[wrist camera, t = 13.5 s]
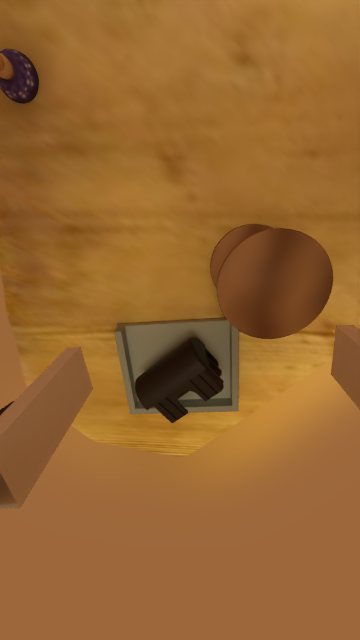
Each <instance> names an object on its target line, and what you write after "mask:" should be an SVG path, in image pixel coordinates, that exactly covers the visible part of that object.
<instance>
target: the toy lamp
mask: <svg viewBox="0 0 360 640" xmlns="http://www.w3.org/2000/svg"><path fill="white" fill-rule="evenodd" d="M0 88H1V89H2V91H3V92H4V93H5V94H6V95H7V96H8V97H9V98H10V99H12V100H13V101H15V102H19V103H26V102H29V101H30V100H32V99H33V98H34V97H35V95H36V93H37V90H38V76H37V72H36V69H35V67H34V65H33V64H32V62H31V61H30V60H29V59H28V58H27V57H26V56H25V55H24V54H22V53H21V52H19V51H17V50H13V49H4V50H2V51H0Z"/></svg>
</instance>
